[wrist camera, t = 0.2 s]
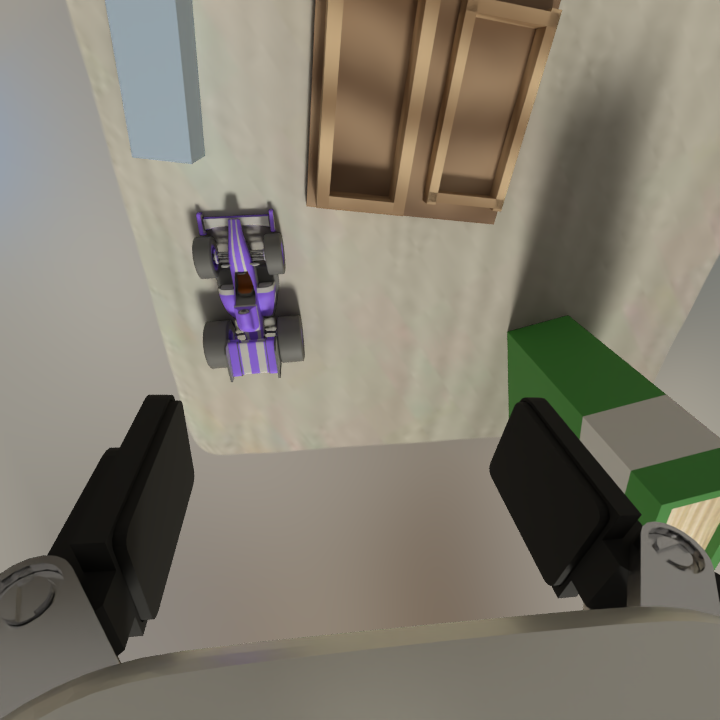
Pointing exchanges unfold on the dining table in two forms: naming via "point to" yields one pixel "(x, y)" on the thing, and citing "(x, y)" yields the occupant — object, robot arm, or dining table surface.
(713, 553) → the hardback book
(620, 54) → the dining table surface
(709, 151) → the dining table surface
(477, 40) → the jig
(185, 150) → the light blue block
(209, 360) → the toy race car
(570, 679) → the robot arm
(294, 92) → the dining table surface
